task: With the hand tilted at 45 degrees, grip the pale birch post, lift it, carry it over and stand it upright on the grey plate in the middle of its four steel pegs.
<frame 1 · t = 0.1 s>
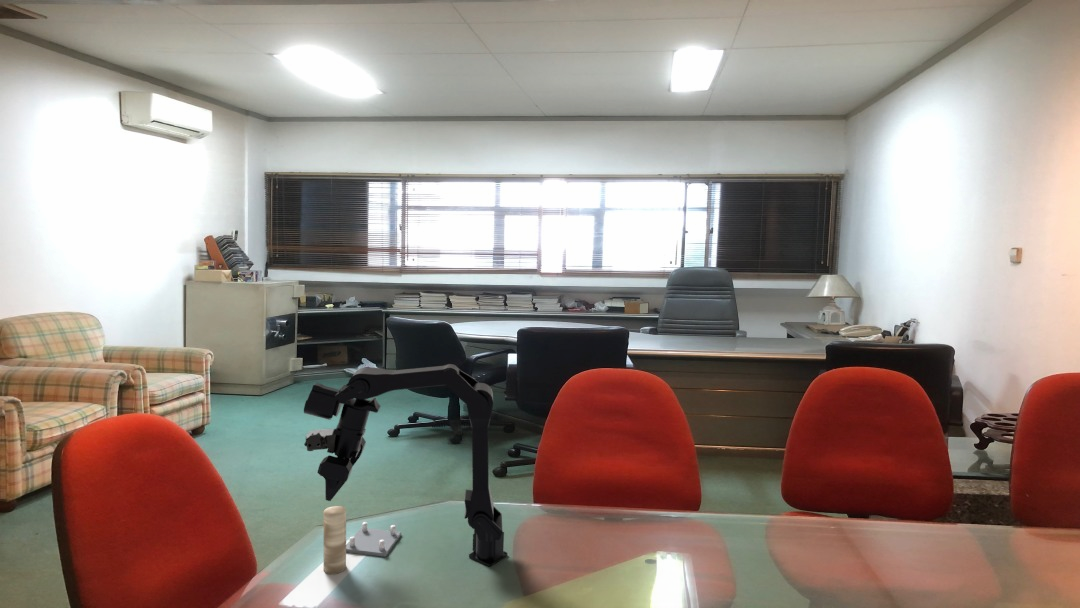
hand: (333, 491, 138), 15 cm above the table, tool pointing down, fingers open, 9 cm apart
peg plate: (373, 543, 147), on the table
birch post: (334, 568, 136), on the table
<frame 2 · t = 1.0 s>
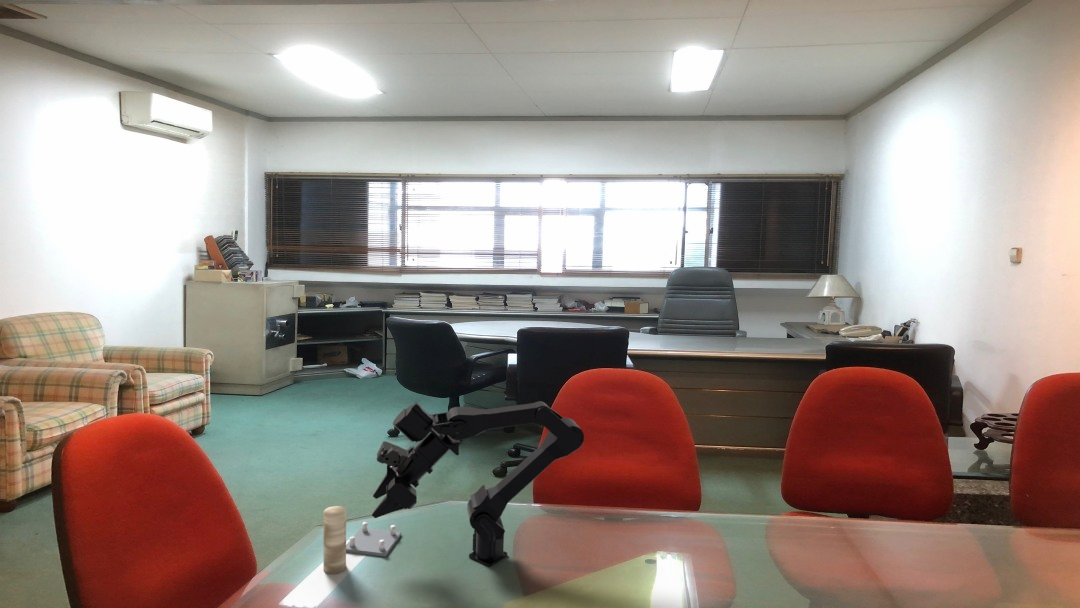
hand: (373, 506, 136), 13 cm above the table, tool tilted 45°, fingers open, 9 cm apart
nothing on the table moved.
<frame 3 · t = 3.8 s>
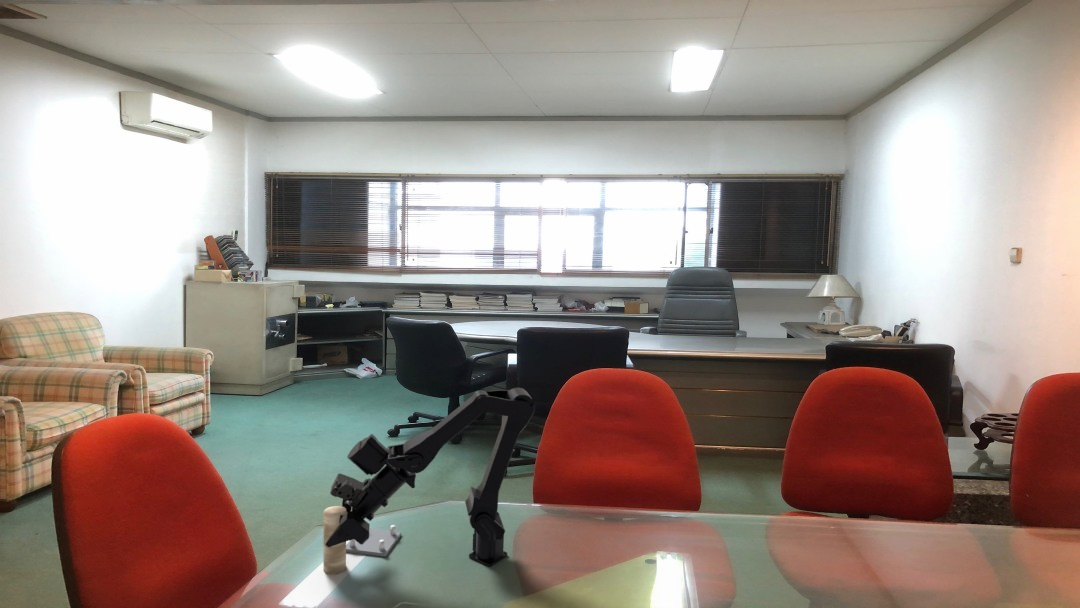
hand: (327, 539, 134), 7 cm above the table, tool tilted 45°, fingers closed on birch post, 5 cm apart
birch post: (334, 568, 136), on the table, touching gripper
when the fingers open (9 cm above the table, at t = 8.0 s): birch post drops 1 cm, resting on peg plate.
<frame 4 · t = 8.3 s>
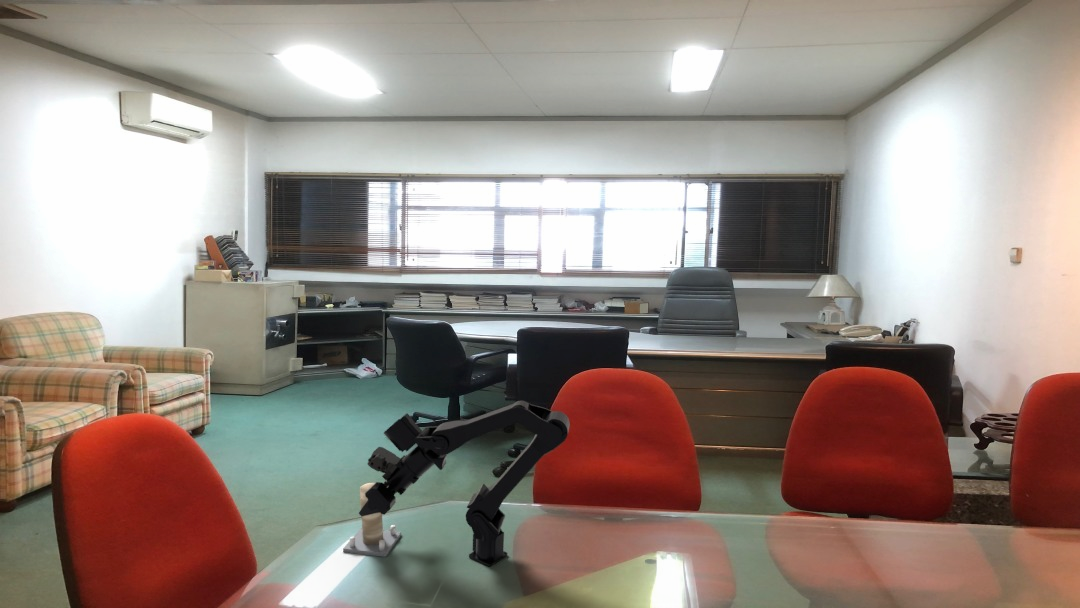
hand: (367, 506, 145), 9 cm above the table, tool tilted 45°, fingers open, 8 cm apart
birch post: (373, 539, 146), point 1 cm above the table, touching peg plate
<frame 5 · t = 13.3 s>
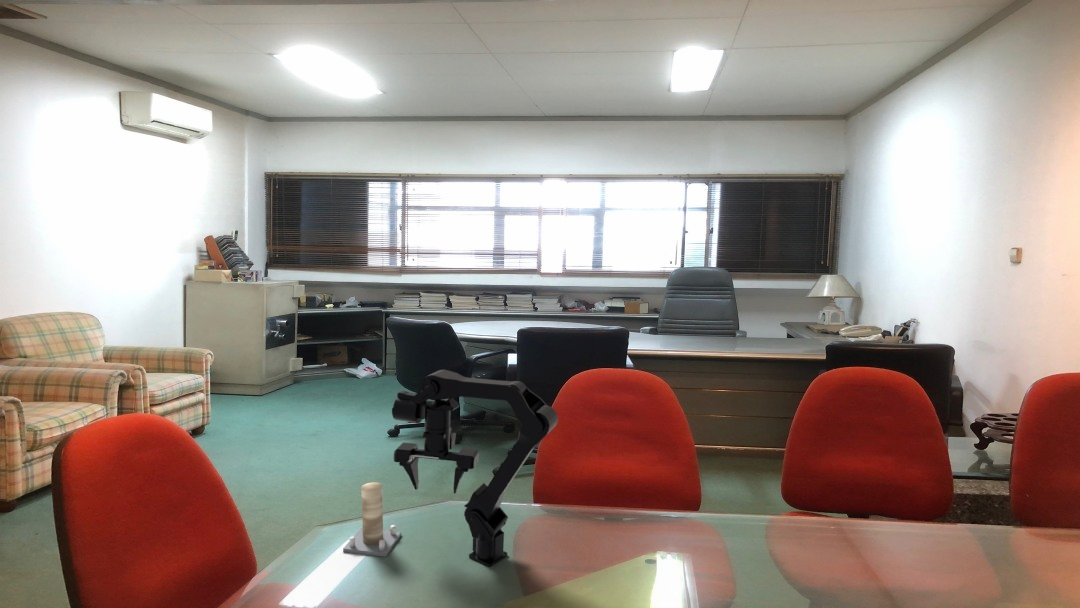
hand: (435, 490, 146), 13 cm above the table, tool pointing down, fingers open, 9 cm apart
nothing on the table moved.
at the end: birch post 0.0 cm off-centre on the peg plate, point 0.9 cm above the peg plate's base; birch post tilted 2°; the gripper is holding nothing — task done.
